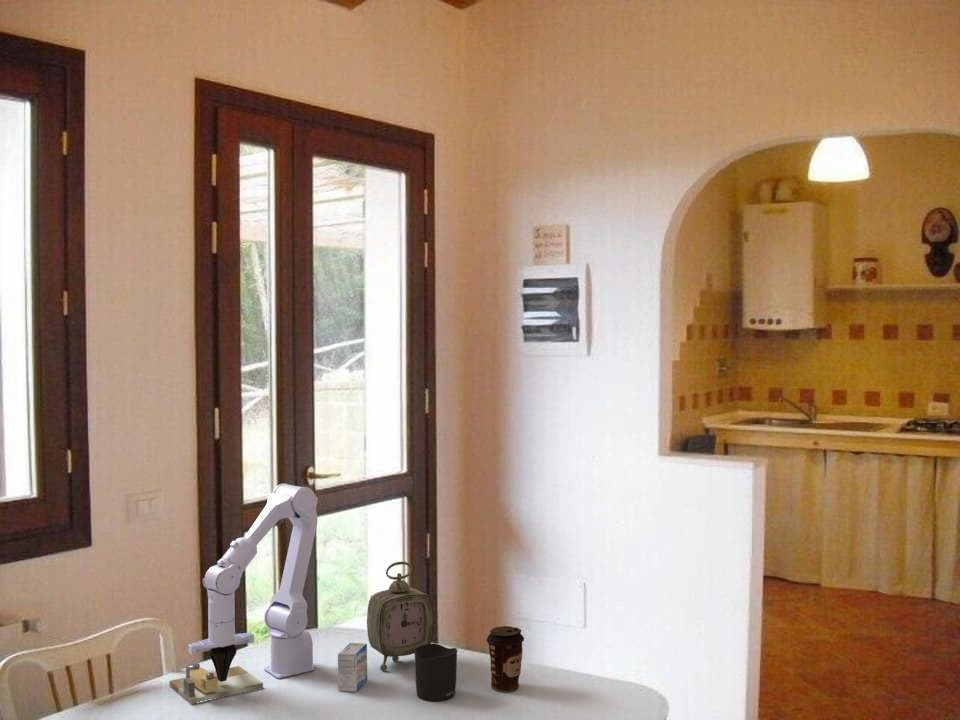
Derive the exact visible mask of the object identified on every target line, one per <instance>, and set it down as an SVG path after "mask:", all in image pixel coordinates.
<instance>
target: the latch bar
mask: <svg viewBox="0 0 960 720" xmlns="http://www.w3.org/2000/svg"><path fill="white" fill-rule="evenodd" d="M200 666H201V664H200V663H196V662H195V663H189V664H186V666H185V677H186V678H190V679H191V680H192V681H194V682H195V687H197V688H198V689H200V690H201V691H203V692H204V693H209V692H213V691H217V690H218V678H217V677H216V676H214V675H213V673H209V672H210V671H208V670H206V669H205V668H203V667H200Z"/></svg>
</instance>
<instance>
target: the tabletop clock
mask: <svg viewBox="0 0 960 720" xmlns="http://www.w3.org/2000/svg"><path fill="white" fill-rule="evenodd" d="M399 565H405V566H407V567H409V569H410V571H409V572H408V573H405V575H404V574H403V575H402V573H400V572H398V573H397V574H396V576H390V575H389V573H388V572H389V571H390V570H391V569H392V568H394V567H395V566H399ZM412 572H413V567H412V564H410V562H406V561H395V562H393V563H391V564H390V565H389V566H388V567H387V568H386V571H385V575H386V577H387V578H388V579H390V580H392V581H391V583H390V584H389V587H388V589H385V590H381V591H378V592H376V593H374V594H372V595H371V596H370V597H369V601H368V603H367V614H366V627H367V628H366V629H367V630H366V631H367V632H366V633H367V638H368V642H369V645H370V647H371V648H372V649H374V650H375V651H377V652H378V653H380V654H381V655H383V663H382V664H380V666H379V668H380V671H382V672H385V671H387V669H388V666H387V664H386V663H387V661H388V658H389V657H390V658H392V659H391V661H392V662H394V663H397V662H398V661H399V660H400V658H399V657H403V656H410V655H415V649H416V648H417V647H419V646H421V645H425V644H432V642H433V638H434V627H435V625H434V623H435V619H434V618H435V616H434V607H433V602H432V599H431V596H430V595H428V594H426V593H424V592H422V591H421V590H419V589H416V588H414V587H410V585H409V583H408V582H407V581H406V580H404V579H406V578H408V577H409V576H410V575H411V574H412Z"/></svg>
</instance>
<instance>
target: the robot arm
mask: <svg viewBox="0 0 960 720" xmlns="http://www.w3.org/2000/svg"><path fill="white" fill-rule="evenodd" d="M318 501H319V499H318V497H317V496H316V493H315V492H314V491H313V490H312V489H311V488H309V487H307V486H297V485H293V484H288V483H279V484H278V485H277V486H275V488H274V489H273V490H272V492H271V493H270V494H269V495H268V496H267V502H266V505H265V506H264V508H263V509H262V511H261V512H260V513H259V515H258V517H257V518H256V519H255V521H254V522H253V524H252V525H251V527H250V528H249V530H248V531H247V532H246V534H245V535H244V536H242V537H238V538H236V539H235V540H232V541H231V543H230V544H229V546H230V547H229V548H228V549H227V551H226V552H225V553H224V554H223V556H222V557H221V558H220V559H219V560H217V562H216V563H217V564H216V565H213V566H210V567H209V569H208V570H207V571H206V573H205V575H204V578H202V584H203V587H204V588H205V589H206V590H207V591H206V592H207V603H208V604H207V605H208V609H207V610H208V611H207V614H208V618H207V619H208V629H207V630H208V632H207V633H208V638H206V639H202V640H199V641H196V642H193V643H189V644H188V646H187V647H188V654H189V655H191V656H193V655H197V654H199V653H205V652H207V654H208V655H209V658H210V660H211V661H212V663H213V666H214V671H216V674H217V678H218V680H219V681H220V682H222V681H226V680H227V675H228V671H229V668H231V665H232V662H233V660H234V658H235V656H236V654H237V650H238V649H237V648H236V647H235V646H238V645H244V644H253V643H255V634H254V633H252V632H244V633H236V627H235V625H236V624H235V621H236V620H235V619H236V617H235V615H236V614H235V607H236V606H235V605H236V604H235V591H236V590H237V589H239V587H240V583H241V577H242V576H243V573H244V571H245V570H246V569H247V567H248V566H249V564H251V562H252V560H254V558H255V556H256V555H257V554H258V545H259V543H260V542H261V541H262V540H263V539H264V538H265V536H266V535H268V533H269V531H271V529H273V527H274V526H275V525H276V524H277V522H279V521H280V520H284V519H288V520H289V521H290V522H291V524H292V530H291V535H290V539H289V545H288V549H287V555H286V557H285V558H286V559H285V563H284V569H283V572H282V575H281V576H282V577H281V581H280V587H279V591H277V592H275V594H273V595H272V596H271V600H270V603H269V605H268V607H267V608H266V610H265V612H264V616H263V617H264V618H263V621H264V623H265V625H266V627H268V628H269V629H268V630H269V633H270V665H269V666H265V667H264V669H263V670H265V671H266V672H268V673H269V674H270V675H272V676H274V677H275V678H276V679H282V678H286V677H291V676H295V675H298V674H303V673H309V672H312V671H315V668H314V665H313V664H314V663H313V662H314V656H313V655H314V654H313V653H314V652H313V647H314V645H313V643H314V642H313V638H312V635H311V633H310V632H309V631H308V630H307V629H306V628H307V625H308V620H309V619H308V612H307V611H308V607H309V606H308V605H309V604H308V603H307V601H306V599H305V597H304V596H303V595H304V594H303V592H304V588H305V584H306V583H305V582H306V579H307V574H308V569H309V564H310V560H311V555H312V549H313V545H314V542H315V541H314V540H315V536H316V532H317V526H318V521H319V520H318V513H317V505H318Z"/></svg>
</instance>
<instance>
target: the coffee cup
mask: <svg viewBox="0 0 960 720" xmlns="http://www.w3.org/2000/svg"><path fill="white" fill-rule="evenodd" d="M521 633H522V629H520V628H519V627H514V626H506V625H504V626H497V627H494V628H492V629H491V630H490V631H489V635H487V638H486V642H487V644H488V648H489V651H488V652H489V660H490V673H491V674H490V675H491V683H490V686H491V687H490V688H491V689H492V690H494V691H496V692H501V693H506V692H514V691H516V690H518V689H519V688H520V684H519V683H520V682H519V679H520V674H521V671H522V669H521V668H522V660H523V642H524V641H525V637H524V636H523V634H521Z"/></svg>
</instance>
